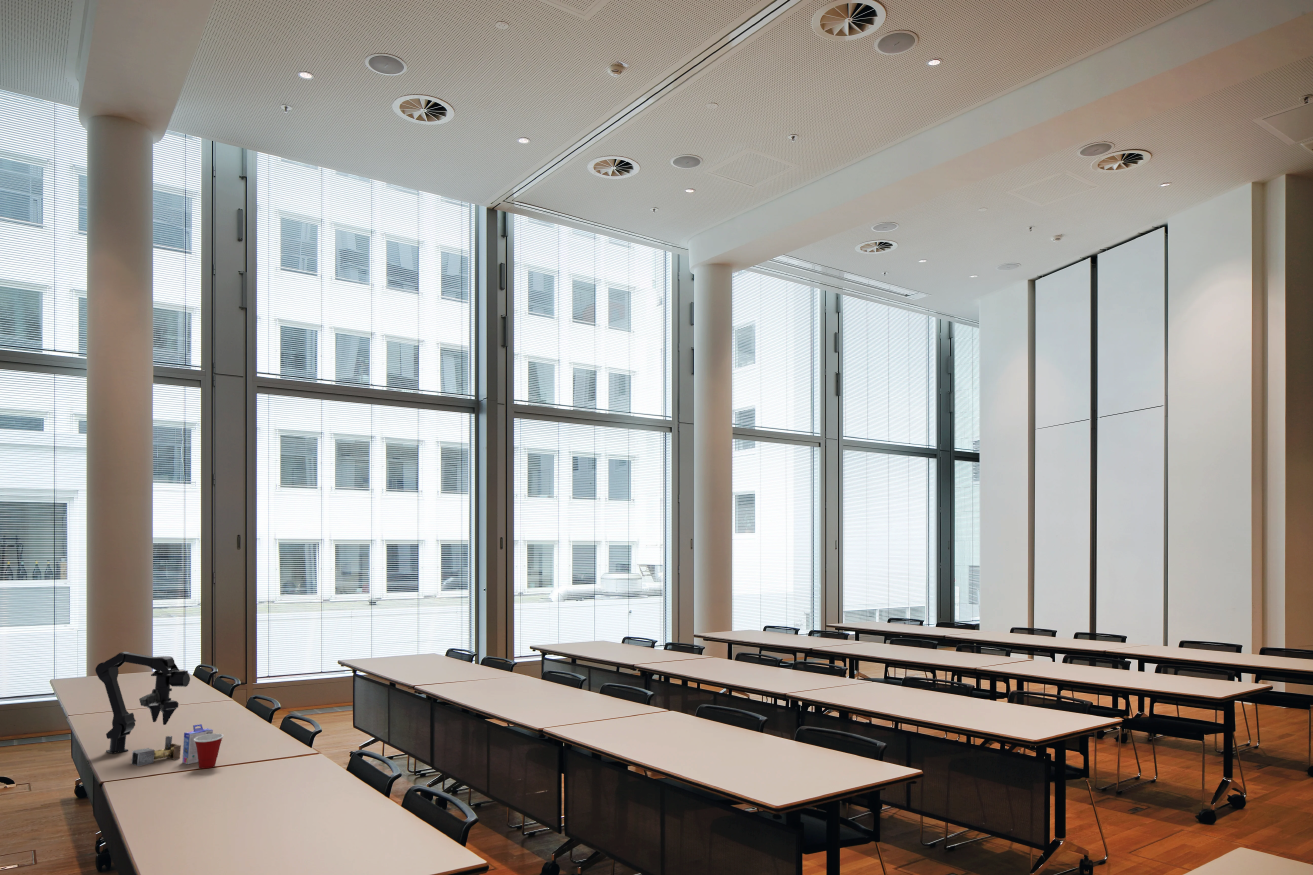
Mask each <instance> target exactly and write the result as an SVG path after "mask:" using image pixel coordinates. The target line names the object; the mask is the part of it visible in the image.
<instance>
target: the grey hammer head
mask: <svg viewBox="0 0 1313 875" xmlns="http://www.w3.org/2000/svg"><path fill="white" fill-rule="evenodd" d="M154 751H156V750H155V749H153V748H150V747H146V748H141V749H135V750H132V753H131V755H132V756H131V763H130V764H131V765H134V766H136V767H139V766H145V765H151V764H154V761H155V760H154Z"/></svg>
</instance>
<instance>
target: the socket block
mask: <svg viewBox="0 0 1313 875" xmlns="http://www.w3.org/2000/svg"><path fill="white" fill-rule="evenodd" d="M173 747H174V752H173V756H172V757H167V759H171V760H176V759H180V758H181V747H182V745H181V744H178V743H175V742H174V743H172V745H171V748H173Z"/></svg>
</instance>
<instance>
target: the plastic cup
mask: <svg viewBox="0 0 1313 875" xmlns="http://www.w3.org/2000/svg"><path fill="white" fill-rule="evenodd" d="M223 738H224V733H223V734H222V733H217V732H216V733H213V734H206V735H202V736H198V737H196V738H194V741H195V743H196V747H197V755H198V762H197V763H198V768H199V769H211V768H214V767H215V766H216V763H217V759H218V757H219V756H218V755H219V753H220V746H221V744H222V741H223Z"/></svg>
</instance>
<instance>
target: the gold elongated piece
mask: <svg viewBox="0 0 1313 875" xmlns="http://www.w3.org/2000/svg"><path fill="white" fill-rule="evenodd" d="M164 742H165V744H164V749H163V748H162V749H158V750H157V749H156V750H155V751H154V761H156V760H160V759H168V757H172V756H173V752H174V747H173V748H171V745H172V744H173V743H172V742H173V736H172V735H167V736H165V741H164Z"/></svg>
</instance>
